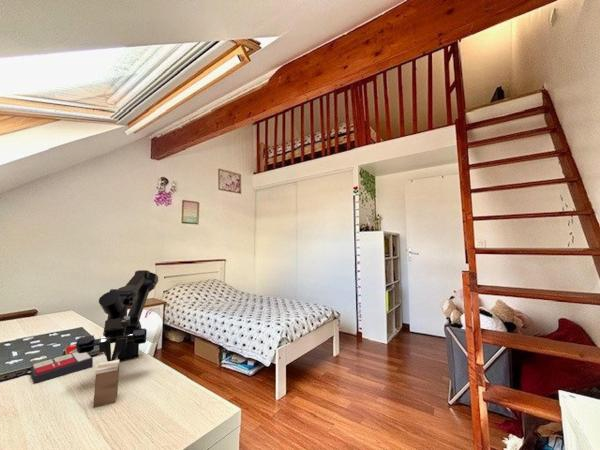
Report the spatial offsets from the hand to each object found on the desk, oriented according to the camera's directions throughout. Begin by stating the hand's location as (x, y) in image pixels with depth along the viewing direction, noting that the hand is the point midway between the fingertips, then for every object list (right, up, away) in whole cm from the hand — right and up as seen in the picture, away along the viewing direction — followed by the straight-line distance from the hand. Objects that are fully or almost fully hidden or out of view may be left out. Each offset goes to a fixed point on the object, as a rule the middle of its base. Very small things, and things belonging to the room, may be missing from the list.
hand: (110, 366), depth 79 cm
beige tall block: (+3, -7, -6) cm, 9 cm away
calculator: (-26, -9, +12) cm, 30 cm away
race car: (-33, -9, +24) cm, 42 cm away
